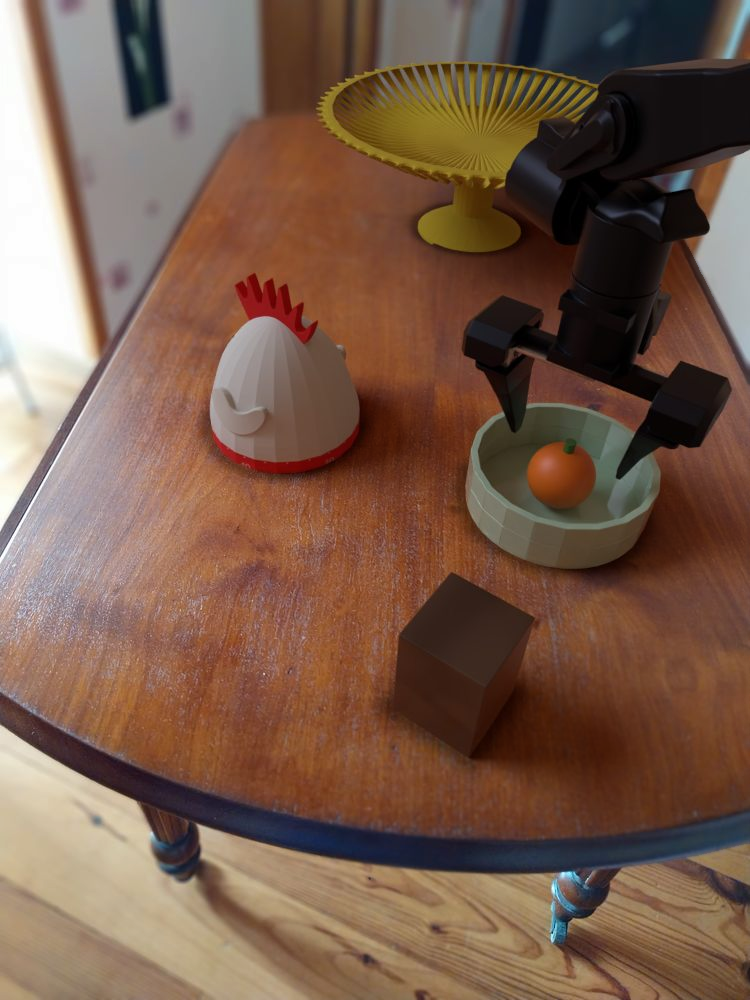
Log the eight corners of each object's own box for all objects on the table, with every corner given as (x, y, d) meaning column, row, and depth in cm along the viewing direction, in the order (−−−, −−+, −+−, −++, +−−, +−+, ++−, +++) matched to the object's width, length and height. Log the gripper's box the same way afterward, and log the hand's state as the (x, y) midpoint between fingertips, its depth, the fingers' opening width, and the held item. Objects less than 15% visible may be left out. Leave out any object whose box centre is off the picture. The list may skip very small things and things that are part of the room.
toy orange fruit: (597, 494, 65) (617, 437, 60) (569, 532, 62) (588, 475, 57) (539, 467, 67) (554, 410, 62) (509, 502, 64) (523, 445, 59)
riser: (512, 693, 52) (535, 617, 45) (468, 760, 48) (486, 687, 42) (439, 649, 54) (451, 570, 48) (391, 710, 51) (398, 634, 44)
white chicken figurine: (277, 365, 78) (266, 227, 67) (387, 415, 73) (393, 273, 62) (181, 436, 70) (151, 291, 59) (297, 498, 64) (286, 351, 54)
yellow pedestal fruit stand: (326, 165, 114) (324, 55, 104) (589, 172, 115) (614, 63, 104) (309, 305, 86) (303, 174, 75) (657, 314, 87) (701, 185, 76)
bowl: (669, 490, 66) (687, 448, 63) (598, 602, 57) (615, 560, 54) (516, 423, 72) (525, 381, 69) (431, 515, 63) (436, 472, 60)
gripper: (792, 272, 51) (712, 446, 62) (543, 197, 58) (512, 364, 69) (743, 347, 44) (663, 526, 55) (470, 251, 51) (448, 426, 63)
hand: (566, 452), depth 61 cm, fingers open, 9 cm apart
